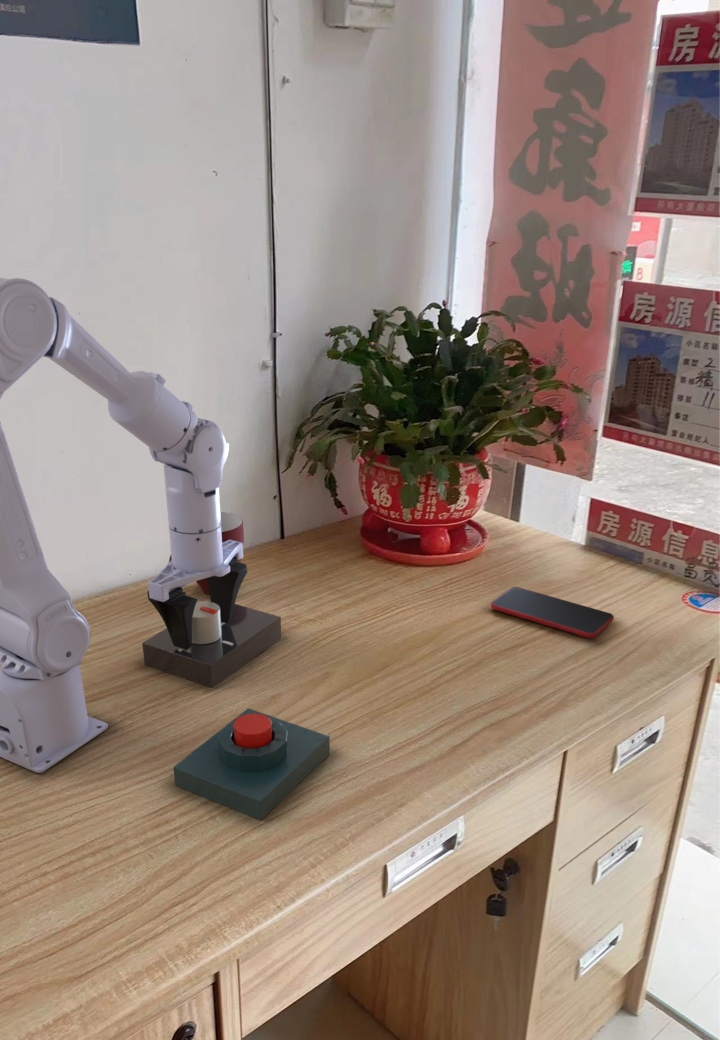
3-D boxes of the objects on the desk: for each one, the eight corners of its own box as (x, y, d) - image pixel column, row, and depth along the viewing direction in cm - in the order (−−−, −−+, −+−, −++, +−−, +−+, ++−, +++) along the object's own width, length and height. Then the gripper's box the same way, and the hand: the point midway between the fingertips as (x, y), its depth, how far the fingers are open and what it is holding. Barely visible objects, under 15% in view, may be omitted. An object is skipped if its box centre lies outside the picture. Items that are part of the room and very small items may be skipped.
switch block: (261, 820, 80) (259, 785, 78) (174, 785, 84) (171, 751, 82) (329, 754, 89) (330, 721, 87) (248, 725, 93) (247, 693, 91)
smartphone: (513, 585, 124) (616, 614, 116) (513, 591, 124) (615, 620, 116) (488, 603, 118) (594, 635, 111) (487, 609, 119) (593, 641, 111)
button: (257, 753, 83) (257, 738, 82) (226, 742, 84) (225, 727, 83) (279, 735, 85) (278, 720, 85) (249, 724, 87) (248, 709, 86)
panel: (212, 687, 100) (210, 663, 98) (144, 664, 104) (141, 641, 102) (281, 638, 111) (280, 615, 109) (217, 619, 115) (216, 597, 113)
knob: (176, 638, 104) (173, 609, 102) (200, 623, 107) (198, 595, 105) (206, 647, 102) (204, 618, 100) (229, 632, 105) (227, 604, 103)
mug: (192, 612, 116) (186, 542, 111) (160, 592, 122) (154, 524, 117) (257, 591, 122) (255, 523, 118) (225, 573, 128) (221, 507, 123)
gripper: (180, 553, 90) (190, 668, 97) (262, 512, 102) (266, 617, 108) (128, 539, 93) (141, 652, 100) (213, 501, 105) (219, 604, 111)
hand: (202, 633), depth 104 cm, fingers open, 7 cm apart
